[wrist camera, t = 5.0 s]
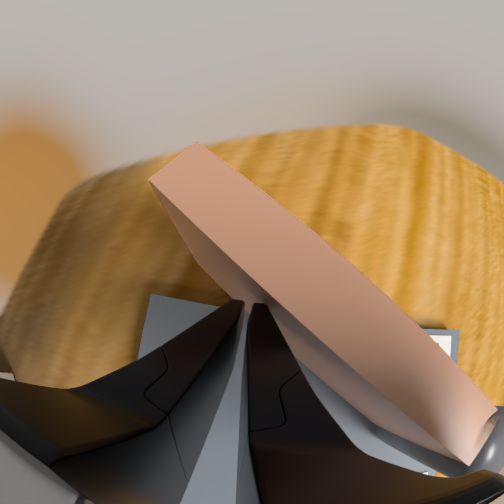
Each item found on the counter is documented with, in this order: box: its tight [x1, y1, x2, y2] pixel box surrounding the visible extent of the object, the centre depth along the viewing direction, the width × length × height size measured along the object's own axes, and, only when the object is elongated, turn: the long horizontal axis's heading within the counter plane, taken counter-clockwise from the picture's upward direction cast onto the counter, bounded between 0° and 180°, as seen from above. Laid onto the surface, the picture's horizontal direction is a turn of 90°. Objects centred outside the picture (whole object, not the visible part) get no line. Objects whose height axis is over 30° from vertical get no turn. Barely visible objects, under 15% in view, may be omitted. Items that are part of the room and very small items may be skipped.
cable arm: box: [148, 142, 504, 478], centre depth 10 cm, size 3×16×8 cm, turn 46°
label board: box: [137, 293, 459, 504], centre depth 12 cm, size 15×20×1 cm
